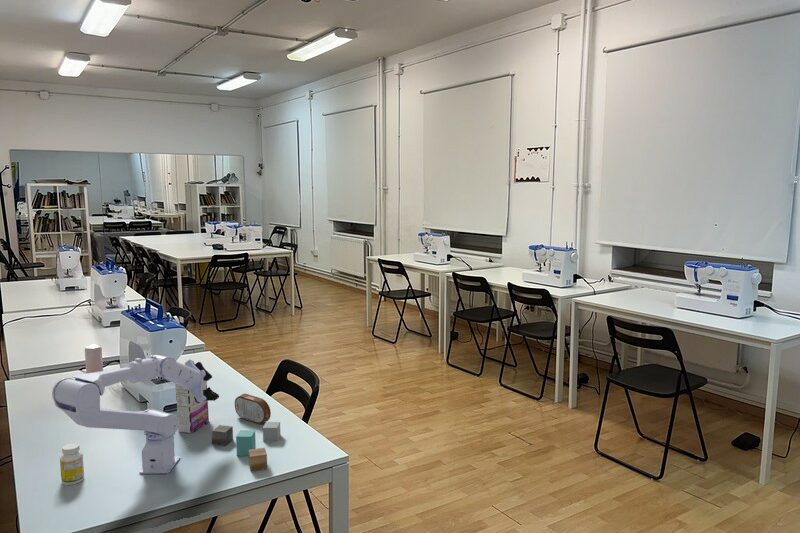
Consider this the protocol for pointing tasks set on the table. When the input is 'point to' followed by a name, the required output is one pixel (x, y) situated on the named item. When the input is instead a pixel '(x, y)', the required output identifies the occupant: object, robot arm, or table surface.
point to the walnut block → (257, 459)
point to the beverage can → (93, 358)
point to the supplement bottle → (71, 464)
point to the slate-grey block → (271, 431)
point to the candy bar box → (190, 410)
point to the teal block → (245, 442)
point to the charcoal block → (222, 435)
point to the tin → (252, 408)
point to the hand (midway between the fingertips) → (213, 388)
